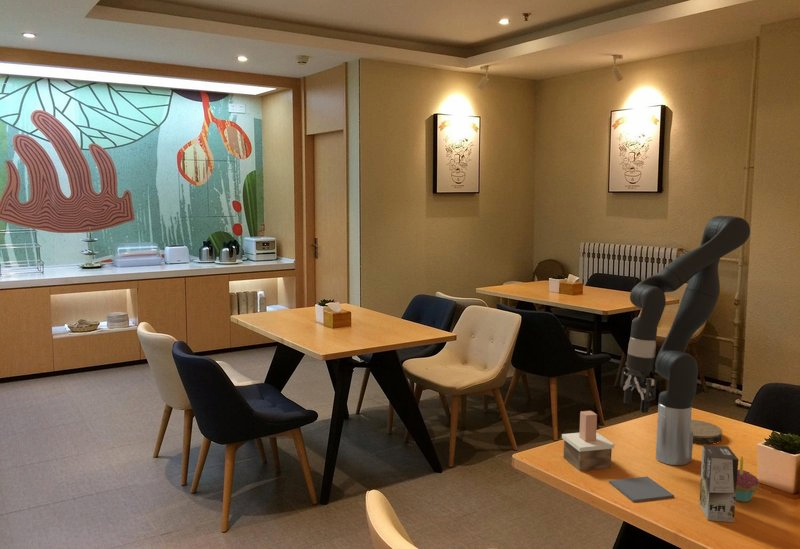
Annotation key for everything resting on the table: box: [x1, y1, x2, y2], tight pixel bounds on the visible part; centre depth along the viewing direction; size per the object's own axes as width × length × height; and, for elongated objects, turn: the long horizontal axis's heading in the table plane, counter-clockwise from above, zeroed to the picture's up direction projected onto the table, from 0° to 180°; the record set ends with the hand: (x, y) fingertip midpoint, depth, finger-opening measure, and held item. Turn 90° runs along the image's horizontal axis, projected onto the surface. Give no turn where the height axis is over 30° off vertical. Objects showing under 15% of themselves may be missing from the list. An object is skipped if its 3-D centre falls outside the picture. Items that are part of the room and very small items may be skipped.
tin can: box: [691, 419, 723, 445], centre depth 223 cm, size 16×16×3 cm
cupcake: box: [735, 457, 760, 502], centre depth 177 cm, size 9×8×12 cm
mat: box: [608, 475, 675, 503], centre depth 183 cm, size 12×12×1 cm
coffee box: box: [699, 444, 740, 523], centre depth 169 cm, size 9×6×16 cm
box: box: [563, 439, 613, 472], centre depth 200 cm, size 10×10×6 cm
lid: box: [561, 410, 615, 452], centre depth 199 cm, size 11×11×10 cm
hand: (635, 407), depth 197 cm, fingers open, 8 cm apart
